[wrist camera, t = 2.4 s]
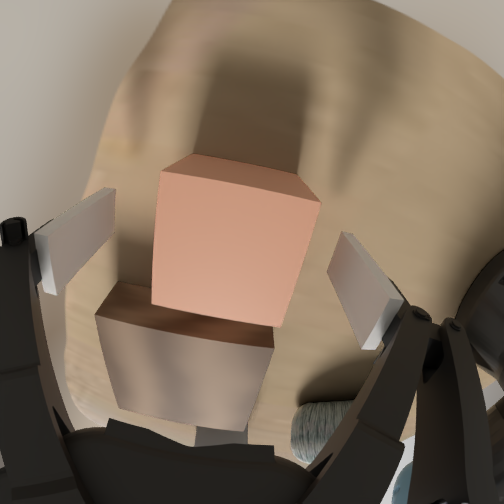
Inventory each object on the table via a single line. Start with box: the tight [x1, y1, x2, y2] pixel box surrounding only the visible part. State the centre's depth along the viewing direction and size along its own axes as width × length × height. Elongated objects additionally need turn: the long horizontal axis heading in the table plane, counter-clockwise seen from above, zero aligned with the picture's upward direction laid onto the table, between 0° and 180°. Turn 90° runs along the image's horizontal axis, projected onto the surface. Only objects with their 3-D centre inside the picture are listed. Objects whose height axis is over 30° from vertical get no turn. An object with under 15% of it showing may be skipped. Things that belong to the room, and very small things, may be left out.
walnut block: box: [95, 281, 274, 432], centre depth 23 cm, size 13×13×5 cm
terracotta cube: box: [152, 154, 321, 328], centre depth 16 cm, size 7×7×7 cm
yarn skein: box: [291, 400, 354, 464], centre depth 26 cm, size 14×10×10 cm
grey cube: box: [194, 422, 248, 447], centre depth 29 cm, size 6×6×6 cm
